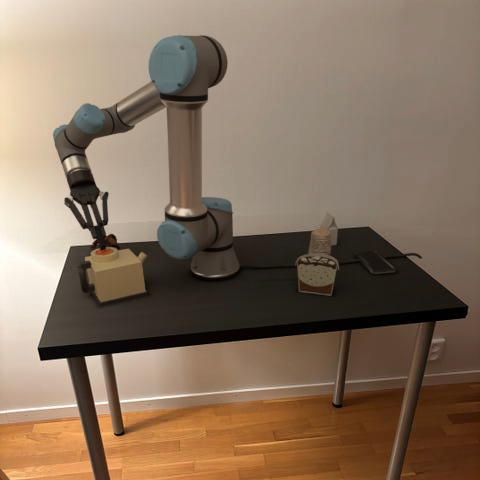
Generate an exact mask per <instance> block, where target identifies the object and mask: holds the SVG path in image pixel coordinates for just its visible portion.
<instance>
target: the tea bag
mask: <svg viewBox="0 0 480 480" xmlns="http://www.w3.org/2000/svg"><path fill="white" fill-rule="evenodd" d="M320 229H326V230H329V231H330V232H331V235H332V243H331V246H338V245H337V244H338V233H339V228H338V226H337V223H336V218H335V217H334V216H333V215H332V214H330V212H328V211H326V213H325V215H324V217H323V219H322V221H321V223H320Z"/></svg>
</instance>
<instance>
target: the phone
mask: <svg viewBox="0 0 480 480" xmlns="http://www.w3.org/2000/svg"><path fill="white" fill-rule="evenodd" d="M383 256H384V255H382V254H381V253H380V252H379V251H365V252H363V251H362V252H357V253H356V254H355V258H356V259H361V261H360V263H361V264H362V266H363V267H365V269H367V270H368V272H370V273H371V274H372V275H383V274H394V273H396V272H397V271H396V269H397V268H396V266H394V264H392V263H391V262H390V261H389V260H388V258H384V257H383Z"/></svg>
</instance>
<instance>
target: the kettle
mask: <svg viewBox="0 0 480 480" xmlns="http://www.w3.org/2000/svg"><path fill="white" fill-rule="evenodd" d="M106 249H110V250H112V253H111V254H108V255H97V251H99V250H100V248H98V249H95V250H93V251H92V250H91V251H90V255H88V256H84V261H90V262H91V268H89V269H86V271H87V272H86V273H87V278H88V281H89V282H88V283H89V284H92V283H93V284H94V286H95V291H94V293H95V294H96V296H97V297H98V299H99V300H100V302H104V301H108V300H113V299H117V298H121V297H125V296H129V295H134V294H138V293H142V292H146V291H147V290H146V291H145V289H146V285H145V284H146V283H145V277H144V269H143V264H142V262H141V261H140V260H139V259H138V258H137V257H138V256H137V255H136V254H135V253H134V252H133V251H132V250H131V249H130V248H124V249H121V250H119V251H118V250H117V248H113V247H106Z"/></svg>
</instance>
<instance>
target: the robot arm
mask: <svg viewBox="0 0 480 480" xmlns="http://www.w3.org/2000/svg"><path fill="white" fill-rule="evenodd" d="M227 70H228V55H227V52H226V50H225V47H224V46H223V45H222V43H220V42H219V41H218V40H217V39H216V38H215V37H212V36H209V35H203V34H202V35H201V34H200V35H181V34H178V35H171V36H166V37H163V38H161V39H160V40H159V41H158V42H156V44H155V45H154V46H153V48H152V50H151V52H150V54H149V59H148V74H149V78H150V81H149V82H148V83H146V84H144V85H143V86H141V87H140V88H138V89H137V90H135V91H133V92H132V93H130V94H129V95H127V96H126V97H124V98H123V99H121V100H120V101H118V102H116V103H115V104H113V105H112V106H109V107H103V108H100V107H99V106H97V105H96V104H91V103H88V102H87V103H83V104H82V105H80V106H79V108H78V109H77V110H76V111H75V112H74V114H73V116H72V118H71V119H70V121H69V123H68V124H60V125H59V127H56V128H55V129H54V130H53V133H52V137H53V142H54V147H55V149H56V153H57V155H58V157H59V161H60V164H61V166H62V169H63V172H64V175H65V178H66V182H67V186H68V188H69V191H70V192H69V196H67V197H64V198H63V199H64V203H63V204H64V205H65V206H66V207H67V208H68V209H69V210H70V211H71V213H72V214H73V217H75V219H76V221H77V222H78V224H79V225H80V228H82V230H88V232H90V236H91V238H92V239H93V240H96V239H97V242H98V245H97V246H99V248H100V250H105V249H106V243H105V240H104V238H105V237H106V235H107V232H106V229H105V226H108V223H109V208H108V200H109V194H110V193H109V192H108V191H101V190H100V188H99V187H98V186H97V183H96V180H95V177H94V174H93V172H92V169H91V165H90V162H89V160H88V157H87V154H86V150H87V149H88V148H89V146H90V145H91V143H92V142H93V141H94V140H95V139H100V138H105V137H110V136H113V135H117V134H118V135H119V134H124V133H128V132H129V131H132V130H133V129H134V128H135V126H136V125H137V124H139V123H140V122H143V121H144V120H146V119H148V118H150V117H152V116H153V115H155V114H156V113H158V112H160V111H163V110H164V109H165V108H166V130H167V156H168V158H167V160H168V184H169V185H168V187H169V202H168V203H167V204H166V205H165V206H164V221H162V222H161V223H160V225H159V226H158V227H157V229H156V230H157V231H156V237H157V241H158V244H159V246H160V248H161V249H162V250H163V251H164V252H165V254H167V256H169V257H171V258H172V259H175V260H178V261H184V260H188V259H190V258H192V260H191V262H190V271H191V275H192V276H193V277H194V278H196V279H198V280H202V281H207V282H208V281H210V282H218V281H225V280H229V279H232V278H233V277H236V276H237V275H239V273H240V271H241V269H240V268H252V269H272V268H297V265H296V266H295V264H296V263H281V264H280V263H279V264H247V263H240V261H239V260H238V259H239V258H238V257H237V254H236V252H235V248H234V224H233V222H234V221H233V214H234V212H233V205H232V202H231V201H230V200H228V199H226V198H222V197H215V196H203V107H204V106H205V105H206V104H207V103H208V102H209V89H211V88H214V87H215V86H218V85H219V84H220V83H221V82H222V81H223V79H224V78H225V76H226V75H227V74H226V73H227ZM99 197H100V200H101V201H102V202H101V207H102V209H101V210H102V215H101V213H100V210H99V208H98V207H99V206H98V204H97V201H98V199H99ZM75 202H76V203H77V204H78V205H80V207H81V210H82V212H83V215H84V216H83V215H82V213H81V212H80V210H79V208H78V207H77V205H76V203H75ZM89 206H90V208H91V210H92V213H93V217H94V219H95V223H96V224H94V220H93V218H92V214H91V212H90V209H89ZM382 256H383V257H384V258H385V259H391V258H405V257H411V256H413V257H416V258H418V259H421V260H422V259H423V257H422V255H420V253H416V252H408V253H397V254H396V253H395V254H387V255H382ZM337 261H338V264H339V265H344V264H353V263H359V262H360V261H361V259H357V258H356V259H347V260H337ZM360 263H361V262H360Z"/></svg>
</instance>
